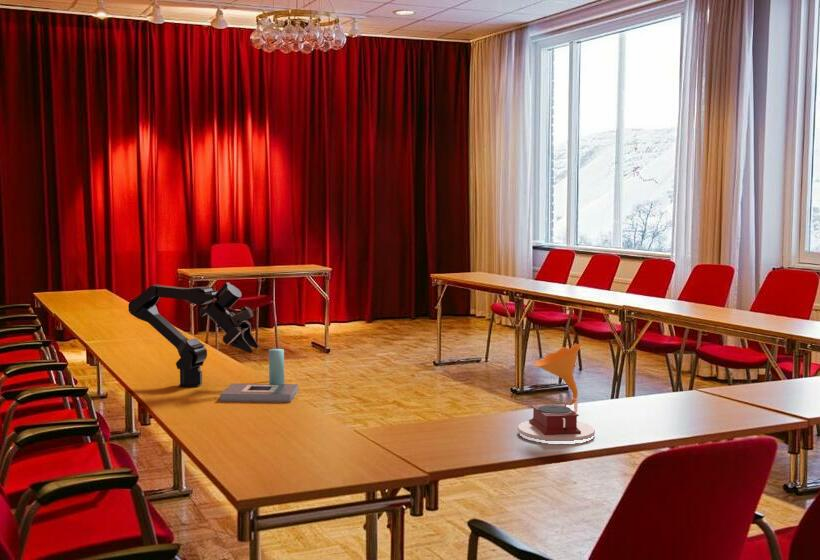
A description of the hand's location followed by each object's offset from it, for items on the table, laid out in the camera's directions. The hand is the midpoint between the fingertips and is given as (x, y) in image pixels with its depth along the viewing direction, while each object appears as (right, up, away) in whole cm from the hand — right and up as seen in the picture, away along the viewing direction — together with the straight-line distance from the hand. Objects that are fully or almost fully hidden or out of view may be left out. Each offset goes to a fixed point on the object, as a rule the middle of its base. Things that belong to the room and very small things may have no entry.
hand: (255, 349), depth 302 cm
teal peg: (+7, -13, +1) cm, 15 cm away
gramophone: (+91, -19, -58) cm, 110 cm away
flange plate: (+4, -14, -12) cm, 19 cm away
